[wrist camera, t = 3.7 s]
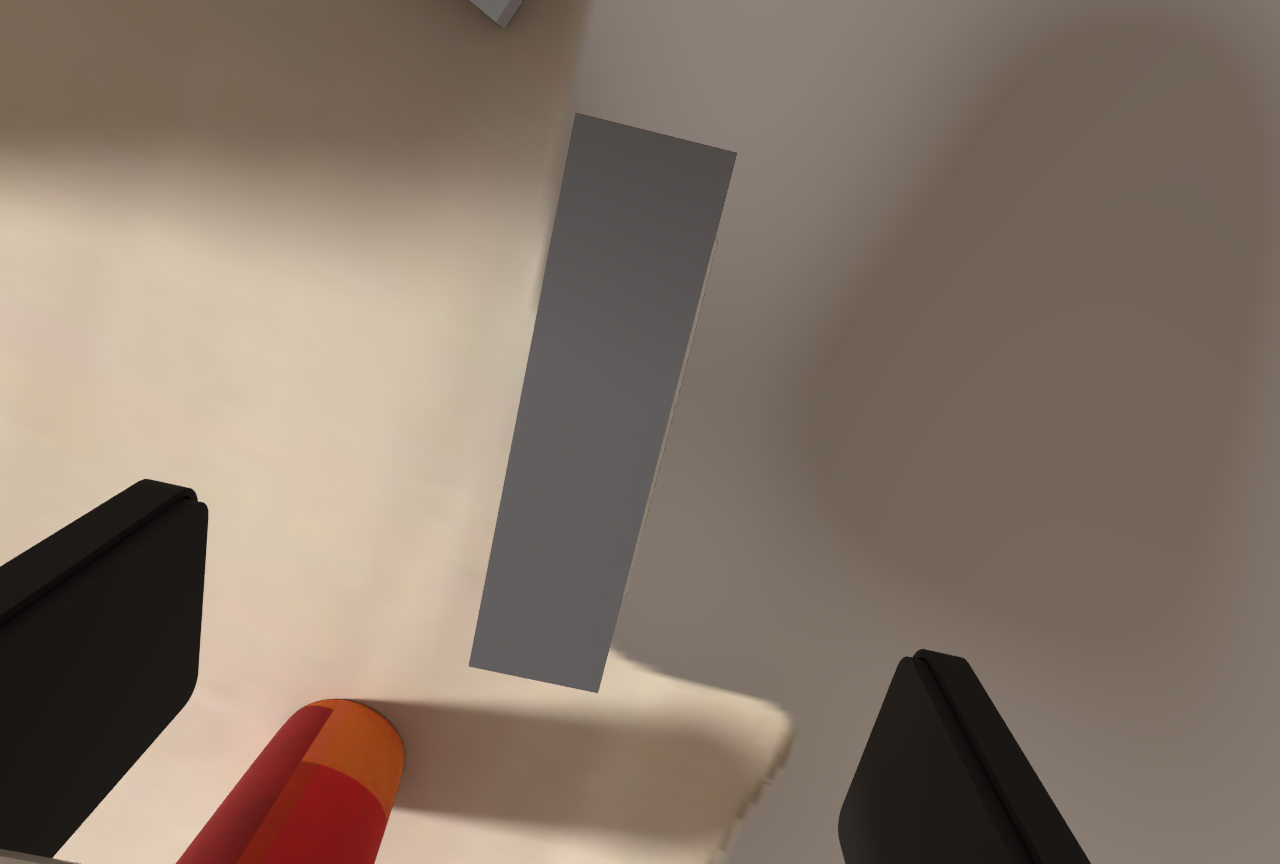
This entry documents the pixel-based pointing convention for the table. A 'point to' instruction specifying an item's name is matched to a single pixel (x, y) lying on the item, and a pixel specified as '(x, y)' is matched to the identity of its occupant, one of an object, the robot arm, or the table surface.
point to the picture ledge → (499, 9)
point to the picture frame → (598, 396)
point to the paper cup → (310, 793)
